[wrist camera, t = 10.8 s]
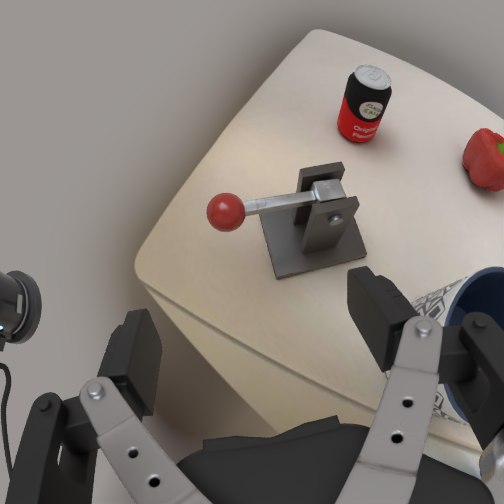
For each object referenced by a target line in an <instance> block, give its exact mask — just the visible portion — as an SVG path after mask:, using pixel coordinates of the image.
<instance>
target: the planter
mask: <svg viewBox="0 0 504 504" xmlns="http://www.w3.org/2000/svg"><path fill="white" fill-rule="evenodd" d="M411 305H412V306H413V307H414V308H415V310H416V311H417V312H418V313H419V315H420V316H428V317H431V318H433V319H435V320H437V321H438V322H439V323H440V324H441V326H456V325H461V324H462V321H463V318H464V317H465V316H466V315H467V314H469V313H471V312H482V313H485V314H487V315H489V316H490V317H492V318H493V319H494V320H495V322H496V323H497V324H498V325H499V326H500V327H501V329H502V330H503V331H504V268H503V267H488V268H484V269H482V270H480V271H477V272H475V273H473V274H471V275H469V276H467V277H465V278H462V279H460V280H458V281H456V282H454V283H452V284H450V285H448V286H445V287H443V288H441V289H439V290H437V291H435V292H432V293H430V294H428V295H426V296H424V297H421V298H419V299H417V300H416V301H414V302H412V303H411ZM481 370H482V369H481ZM390 371H391V370H389V371H386V374H387V378H388V377H389V374H390ZM483 373H484V372H483ZM485 376H486V375H485ZM487 379H488V378H487ZM432 416H435V417H439V418H442V419H446V420H449V421H453V422H457V423H461V424H465V425H469V426H470V424H469V422H468V420H467V418H466V417H465V415H464V413H463V411H462V409H461V407H460V405H459V404H458V402H457V400H456V398H455V396H454V395H453V393H452V391H451V389H450V388H449V386H448V384H438V388H437V393H436V399H435V404H434V409H433V413H432Z"/></svg>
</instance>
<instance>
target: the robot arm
mask: <svg viewBox="0 0 504 504" xmlns="http://www.w3.org/2000/svg"><path fill="white" fill-rule="evenodd" d="M347 304H348V310H349V313H350V316H351V317H352V319H353V321H354V323H355V324H356V326H357V328H358V330H359V331H360V333H361V335H362V337H363V339H364V340H365V342H366V344H367V346H368V348H369V349H370V351H371V353H372V355H373V357H374V358H375V360H376V362H377V364H378V366H379V368H380V369H381V371H382V372H385V371H389V370H391V371H390V374H389V377H388V380H387V383H386V386H385V389H384V392H383V395H382V398H381V401H380V404H379V407H378V409H377V412H376V415H375V418H374V420H373V423H372V425H371V428H369V427H366V426H362V425H357V424H346V423H344V424H340V423H339V420H338V417H337V415H335V416H332V417H328V418H324V419H320V420H316V421H312V422H308V423H304V424H302V425H300V426H297V427H295V428H293V429H291V430H288V431H286V432H284V433H282V434H279V435H277V436H274V437H271V438H262V437H243V436H242V437H241V436H232V437H224V438H216V439H207V440H203V449H202V450H199V451H197V452H194V453H192V454H190V455H189V456H187V457H185V458H184V459H182V460H181V461H180V462H179V463H177V464H176V465H175V464H174V463H173V461H172V460H171V459H170V458H169V457H168V456H167V454H166V453H165V452H164V451H163V449H162V448H161V447H160V446H159V445H158V443H157V442H156V441H155V440H154V438H153V437H152V436H151V435H150V433H149V432H148V431H147V430H146V428H145V427H144V426H143V424H142V417H143V416H152V415H153V411H154V404H155V396H156V388H157V382H158V375H159V368H160V361H161V355H162V344H161V340H160V337H159V335H158V332H157V330H156V328H155V325H154V323H153V321H152V318H151V316H150V313H149V312H148V310H147V309H140V310H134V311H129V312H128V313H127V315H126V318H125V321H124V324H123V325H119V326H118V327H117V328H116V329H115V330H114V332H113V333H112V334H111V337H110V340H109V343H108V344H109V345H107V348H106V352H105V354H104V357H103V360H102V363H101V366H100V369H99V372H98V375H97V377H96V378H93V379H91V380H90V381H88V382H87V383H86V384H85V385H84V386H83V387H82V388H81V390H80V394H79V396H77V397H73V398H70V399H67V400H64V401H62V400H61V399H60V397H59V396H58V395H57V394H55V393H52V392H49V393H45V394H43V395H41V396H40V397H38V398H37V399H36V400H35V401H34V403H33V405H32V407H31V410H30V413H29V416H28V419H27V422H26V426H25V428H24V431H23V435H22V438H21V441H20V445H19V448H18V452H17V455H16V459H15V463H14V466H13V469H12V464H11V457H10V451H9V443H8V435H7V424H6V406H7V400H8V396H9V393H10V388H11V375H10V371H9V369H8V367H7V366H6V365H5V364H2V363H0V369H3V370H4V372H5V376H6V386H5V391H4V395H3V398H2V403H1V424H2V435H3V443H4V450H5V456H6V463H7V468H8V473H9V478H10V483H9V487H8V492H7V497H6V502H5V504H91V503H92V492H93V483H94V473H95V465H96V458H97V451H98V449H100V448H101V449H102V451H103V453H104V454H105V456H106V458H107V460H108V461H109V463H110V465H111V466H112V468H113V469H114V471H115V473H116V474H117V476H118V477H119V479H120V481H121V482H122V483H123V485H124V487H125V488H126V489H127V491H128V493H129V494H130V495H131V497H132V498H133V499H134V501H135V502H136V504H504V331H503V330H502V329H501V327H500V326H499V325H498V324H497V323H496V322H495V320H494V319H493V318H492V317H490V316H489V315H487V314H485V313H482V312H471V313H469V314H467V315H466V316H465V317H464V318H463V321H462V324H461V325H456V326H441V324H440V323H439V322H438V321H437V320H435V319H433V318H431V317H428V316H420V315H419V313H418V312H417V311H416V310H415V308H414V307H413V306H412V305H411V304H410V302H409V301H408V300H407V299H406V298H405V296H403V295H402V293H401V292H400V291H399V289H397V287H396V286H395V285H394V284H393V282H392V281H391V280H389V279H387V278H385V277H383V276H381V275H379V276H375V275H374V274H373V273H372V271H371V270H370V269H369V268H368V267H367V266H363V267H359V268H354V269H350V270H348V273H347ZM29 310H30V297H29V293H28V290H27V287H26V285H25V284H24V283H23V282H22V281H21V280H20V279H18V278H15V277H12V276H9V275H7V274H4V273H2V272H0V351H3V349H4V345H5V342H6V338H7V339H14V338H15V335H16V334H17V333H18V332H20V331H21V330H22V328H23V327H24V326H25V324H26V322H27V319H28V316H29ZM481 369H482V370H481ZM483 372H484V373H483ZM485 375H486V376H485ZM487 378H488V379H487ZM438 384H448V386H449V388H450V389H451V391H452V393H453V395H454V396H455V398H456V400H457V402H458V404H459V405H460V407H461V409H462V411H463V413H464V415H465V417H466V418H467V420H468V422H469V424H470V426H471V428H472V430H473V432H474V434H475V436H476V438H477V440H478V442H479V444H480V446H481V448H482V450H483V452H482V454H481V456H480V460H479V468H480V475H481V480H479V479H478V478H476V477H474V476H471V475H469V474H467V473H464V472H462V471H460V470H457V469H455V468H453V467H451V466H448V465H446V464H444V463H442V462H439V461H437V460H435V459H433V458H431V457H429V456H427V455H425V454H423V450H424V446H425V443H426V439H427V435H428V431H429V427H430V422H431V418H432V413H433V409H434V404H435V399H436V393H437V388H438ZM60 445H61V446H62V452H61V457H60V462H59V466H58V462H57V459H58V453H59V449H60Z"/></svg>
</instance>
